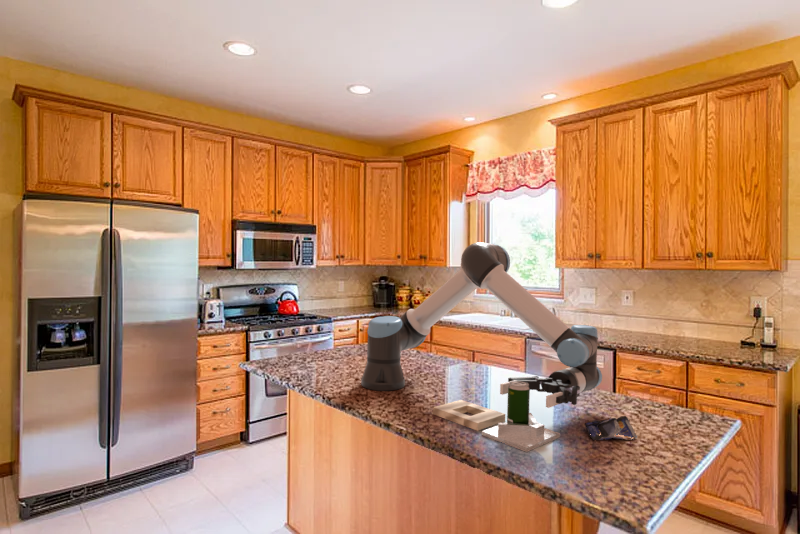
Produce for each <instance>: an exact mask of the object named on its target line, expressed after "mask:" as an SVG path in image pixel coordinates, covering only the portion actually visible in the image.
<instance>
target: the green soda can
mask: <svg viewBox="0 0 800 534" xmlns="http://www.w3.org/2000/svg"><path fill="white" fill-rule="evenodd" d="M530 391H531V390H530V388H529V384H528V383H526V382H521V381H511V382H509V385H508V393H507V409H506V411H507V412H506V413H507V414H506V422H507V423H516V424H529V413H530V395H531V393H530Z"/></svg>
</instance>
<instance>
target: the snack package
mask: <svg viewBox="0 0 800 534" xmlns="http://www.w3.org/2000/svg"><path fill="white" fill-rule="evenodd" d="M584 426H585V428H586V430H587V432H588V433H587V434H588V437H589V436H590V437H591V438H590V437H589V438H590V439H592V440H593V441H594V440H598V441H603V439H605V440H611V439H612V438H613V439H618V440H623V439H625V440H624V441H627V438H622V437H616V436H614V435H615V434H616V435H618V434H619V435H624V436H628V437H631V438H632V437H635V438H636V439H638V435H637V434H636V433H635V432H636V431H635V429H634V427H633V426H632V424H631V423H630V420H629V418H628V417H627V416H626V415H622V416H620V417H617V418H616V417H613V418H612V417H611V416H610V417H609V419H603V420H593V421H588V422H585V423H584ZM600 433H601V435H600V436H599V434H600ZM590 434H591V435H590ZM635 438H634V439H635Z"/></svg>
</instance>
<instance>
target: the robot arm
mask: <svg viewBox="0 0 800 534" xmlns="http://www.w3.org/2000/svg"><path fill="white" fill-rule="evenodd" d="M460 258H461V259H460V260H461V261H460V268H459V270H458V271H457V272H456V273H455V274H453V276H451V277H450V278H449V279H448V280H447V281H446V282H445V283H443V284H442V285H441V286H440V287H438V289H437V290H435V291H434V292H433V293H432V294H431V295H430V296H428V297H427V298H426V299H425V300H424V301H423V302H422V303H420V304H419V305H418V307H416V308H415V309H414V308H409V309H408V310H406V311H405V312H404V313H403V314H402V315H401V316H400V317H399V316H395V315H384V316H377V317H374V318H372V319H370V320H369V321H368V327H367V330H366V331H367V345H366V346H367V350H366V351H367V354H366V355H367V356H366V365H365V367H364V371H363V374H362V376H361V380H360V383H361V384H360V385H361V387H363V388H365V389H368V390H372V391H379V392H380V391H396V390H401V389H403V388H405V386H406V379H405V377H404V372H403V369H402V364H401V356H402V355H401V354H402V351H406V350H409V349H410V350H412V349H414V348H417V347H419V346H421V344H423V343H424V341H425V340H426V338H427V336H428V335H429V334H430V333H431V328H432V326H434V325H435V324H436V323H438V321H440V320H441V319H442V318H444V316H446V315H447V314H448V313H449V312H450V311H452V310H453V309H454V308H455V307H457V306H458V305H459V304H460V303H461V302H463V301H464V300H465V299H466V298H467V297H469V295H471V294H473V292H474V291H476V290H477V289H479V290H482V289H483V290H486V289H487V291H489V292H490V293H491V294H492V295H493V296H494V297H496V299H497V300H498V301H500V302H501V303H502V304H503V305H504V306H505V307H506V308H508V310H509V311H511V312H512V313H513V314H514V315H515V316H516V317H517V318H518V319H520V320H521V322H522V323H524V324H525V325H526V326H527V327H528V328H529V329H530V330H532V332H534V333H535V334H536V335H537V336H538V337H539V338H540V339H541V340H542V341H544V342H545V343H546V344H547V345H548V346H549V347H550V348H551V350H553V351H554V352H555V353H556V355H557V359H558V360H559V361H560V363H561V364H563V365H565V366H567V368H563V369H559V370H556V371H553V372H552V373H550V375H549V376H548V377H545V378H543V377H542V378H540V377H539V376H538V375H535V376H527V377H525V376H522V377H520V376H519V377H508V379H507V382H503V383H500V386H499V387H500V389H499V395H502V396H503V395H506V394H507V395H508V385H509V382H511V381H521V382H526V383H528V384H529V388H530V391H531V390H532V391H533V390H534V391H535V390H536V391H537V392H539V393H547V394H549V395H546V396H545V408H548V409H549V408H552V407H555V406H558V405H561V404H569V403H571V405H574V406H576V405H577V403H578V397H581V396H580V394H581V393H584V392H587V391H588V392H589V391H592V390H593V389H595V388H597V387H598V386H599V385H600V384H601V383H602V380H603V374H602V371H601V369H600V368H599V366H598V363H597V357H598V342H599V341H598V340H599V337H598V329H597V327H595V326H593V325H587V324H586V325H585V324H574V325H572V326H571V328H570V327H569V326H568V325H567V324H566V323H565V322H564V321H563V320H561V319H560V318H559V317H558V316H557V315H556V314H554V313H553V312H552V311H551V310H550V309H549V308H548V307H546V306H545V305H544V304H543V303H542V302H541V301H539V300H538V298H536V297H535V296H534V295H533V294H531V292H529V291H528V290H527V289H526V288H525V287H524V286H523V285H521V284H520V283H519V282H518V281H517V280H516V279H515V278H513V276H511V275H510V274H509V273H508V272H509V269H510V266H511V258H510V255H509V253H508V251H507V250H506V249H505V248H504V247H503V246H501V245H499V244H496V243H488V242H481V241H480V242H479V241H477V242H473V243H471V244H469V245H468V246H467V247H465V249H464V250H463V252H462V254H461V257H460Z"/></svg>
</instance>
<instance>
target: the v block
mask: <svg viewBox="0 0 800 534" xmlns="http://www.w3.org/2000/svg"><path fill="white" fill-rule="evenodd" d="M545 426H546V425H545V424H542V423H540V422H538V421H537V419H536V418H535V416H534V415H533V414H532V412H529V424H516V423H507V421H505V422H501V423H498V424H497V425H494V426H493V427H492V426H491V427H488V428H487V429H486V428H485V429H484V430H481V436H484V437H485V438H489V439H491V440H494V441H496V442H499V443H501V442H502V443H501V444H504V443H505V444H504V445H506V446H510V447H512V448H515V449H518V450H520V451H523V452H525V453H528V452H530V451H533V450H534V449H537V448H539V447H541V446H543V444H544V445H545V444H548V443H550V442H552V441H555V440H557V439H559V438H561V433H560V432H558V431H555V430H551V429H548V428H545Z"/></svg>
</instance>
